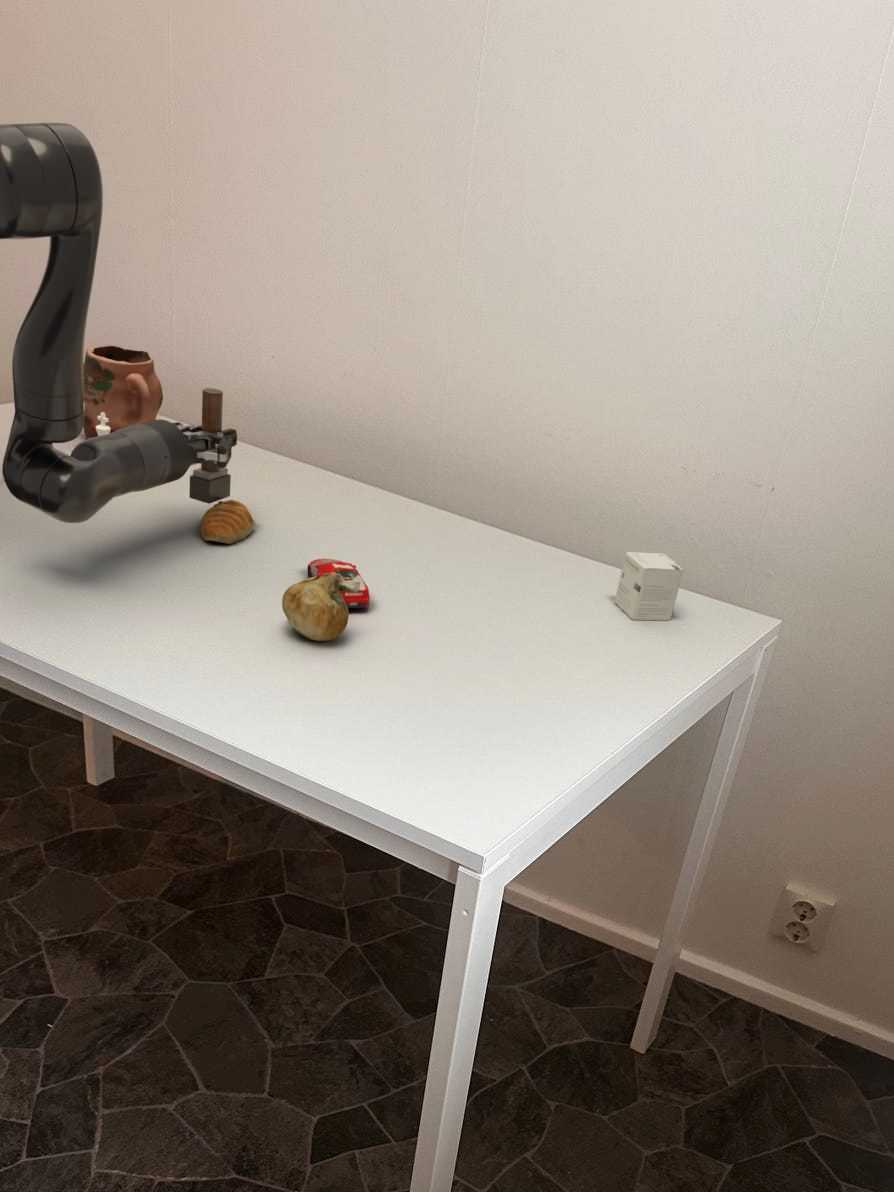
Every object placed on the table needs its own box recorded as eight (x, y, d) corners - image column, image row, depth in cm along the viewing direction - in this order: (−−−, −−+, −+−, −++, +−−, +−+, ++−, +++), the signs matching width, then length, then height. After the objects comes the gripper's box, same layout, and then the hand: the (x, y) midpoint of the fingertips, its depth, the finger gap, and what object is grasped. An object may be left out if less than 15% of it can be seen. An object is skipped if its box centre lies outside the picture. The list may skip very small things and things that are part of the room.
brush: (209, 503, 159) (212, 396, 152) (189, 498, 160) (191, 390, 152) (230, 496, 163) (234, 391, 156) (210, 490, 164) (213, 385, 156)
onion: (304, 616, 142) (309, 552, 137) (360, 637, 139) (367, 572, 135) (266, 634, 136) (270, 567, 132) (324, 656, 133) (330, 589, 129)
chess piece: (104, 491, 169) (102, 419, 163) (79, 482, 170) (76, 410, 165) (129, 485, 172) (128, 415, 167) (104, 476, 174) (102, 406, 169)
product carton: (613, 602, 162) (624, 550, 158) (651, 603, 164) (664, 552, 160) (632, 620, 157) (644, 567, 153) (672, 621, 160) (685, 568, 156)
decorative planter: (189, 461, 186) (190, 369, 179) (117, 466, 179) (116, 370, 171) (126, 425, 198) (125, 337, 190) (56, 429, 190) (52, 337, 183)
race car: (302, 574, 153) (304, 544, 151) (342, 574, 156) (345, 545, 153) (330, 614, 144) (332, 582, 141) (372, 614, 146) (375, 583, 144)
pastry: (239, 550, 157) (240, 522, 155) (189, 542, 157) (189, 514, 155) (256, 529, 165) (257, 502, 163) (208, 521, 165) (209, 494, 163)
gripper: (192, 439, 142) (269, 417, 156) (97, 411, 146) (181, 393, 159) (191, 501, 146) (266, 474, 160) (98, 472, 150) (180, 449, 163)
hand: (223, 434), depth 160 cm, fingers closed on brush, 2 cm apart
